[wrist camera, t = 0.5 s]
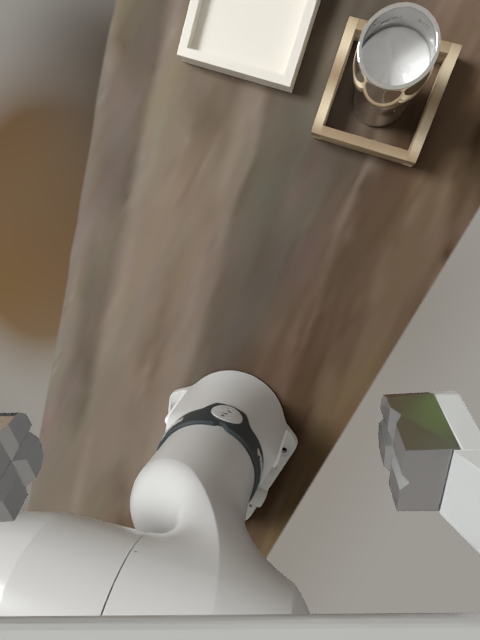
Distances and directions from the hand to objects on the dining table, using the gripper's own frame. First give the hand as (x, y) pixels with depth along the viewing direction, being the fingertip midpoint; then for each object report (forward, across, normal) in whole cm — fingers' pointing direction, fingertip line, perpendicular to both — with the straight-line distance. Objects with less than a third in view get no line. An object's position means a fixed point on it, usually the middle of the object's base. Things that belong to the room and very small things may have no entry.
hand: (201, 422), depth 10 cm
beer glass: (+50, +15, 0) cm, 52 cm away
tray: (+56, +2, +10) cm, 56 cm away
